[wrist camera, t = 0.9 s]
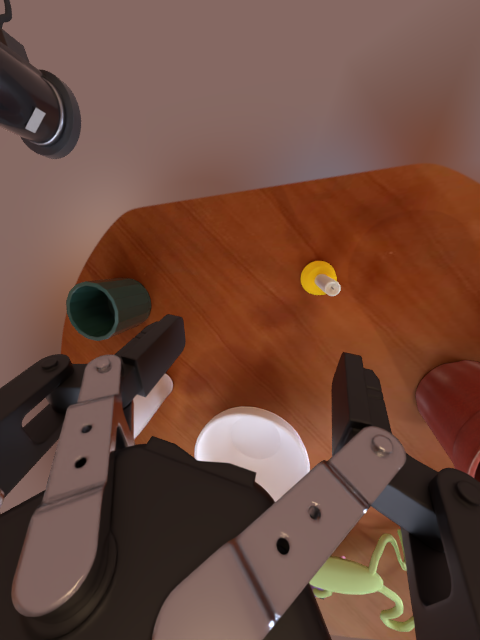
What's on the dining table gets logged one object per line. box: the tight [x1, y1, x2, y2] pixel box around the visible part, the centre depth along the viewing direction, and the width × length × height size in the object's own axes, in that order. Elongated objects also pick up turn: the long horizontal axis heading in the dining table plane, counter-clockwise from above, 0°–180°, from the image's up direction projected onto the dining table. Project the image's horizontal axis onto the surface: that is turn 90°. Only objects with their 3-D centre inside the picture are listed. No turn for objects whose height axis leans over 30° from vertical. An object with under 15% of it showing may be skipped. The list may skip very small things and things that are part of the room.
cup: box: [66, 278, 151, 341], centre depth 42 cm, size 9×9×9 cm
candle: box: [300, 261, 341, 296], centre depth 30 cm, size 5×5×16 cm
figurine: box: [309, 529, 415, 632], centre depth 47 cm, size 18×27×6 cm
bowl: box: [194, 406, 310, 502], centre depth 44 cm, size 20×20×7 cm
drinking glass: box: [133, 373, 173, 439], centre depth 42 cm, size 7×7×15 cm
